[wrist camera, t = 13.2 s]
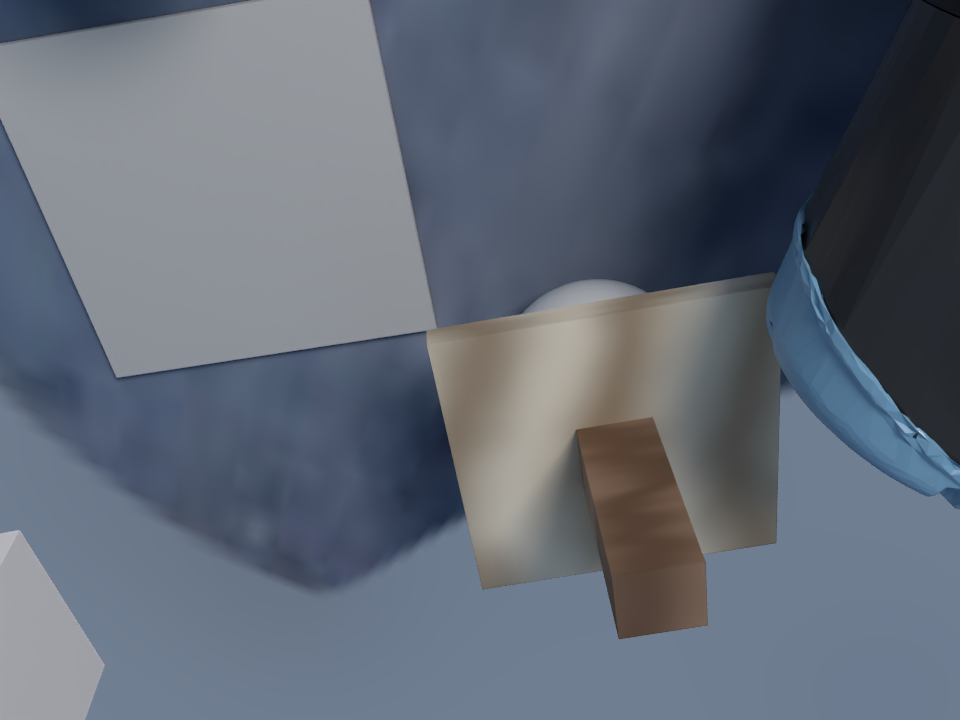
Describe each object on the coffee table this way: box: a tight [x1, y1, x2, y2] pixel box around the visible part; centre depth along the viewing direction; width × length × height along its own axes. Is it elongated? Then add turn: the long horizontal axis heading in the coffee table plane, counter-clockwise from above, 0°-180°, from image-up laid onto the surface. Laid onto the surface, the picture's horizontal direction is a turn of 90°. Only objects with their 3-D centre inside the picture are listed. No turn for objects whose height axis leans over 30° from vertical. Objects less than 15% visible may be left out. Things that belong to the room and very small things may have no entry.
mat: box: [0, 0, 437, 378], centre depth 46 cm, size 18×18×1 cm
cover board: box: [427, 272, 781, 639], centre depth 39 cm, size 15×15×10 cm
